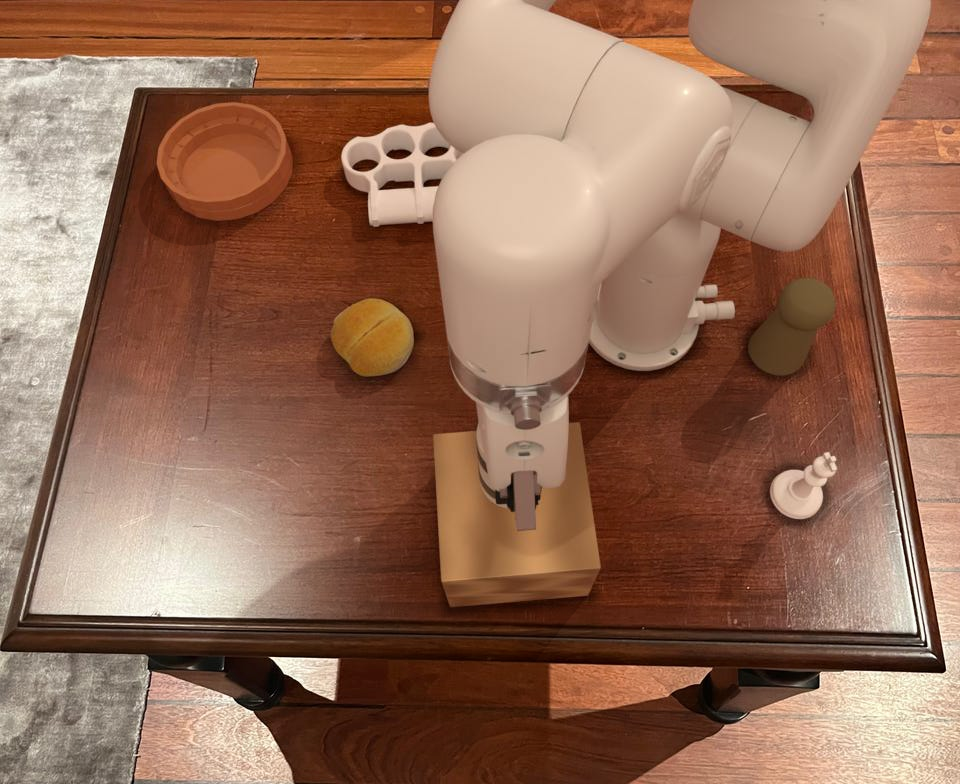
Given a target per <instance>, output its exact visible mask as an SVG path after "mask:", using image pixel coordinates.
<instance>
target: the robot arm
mask: <svg viewBox="0 0 960 784" xmlns="http://www.w3.org/2000/svg"><path fill="white" fill-rule="evenodd" d="M557 1H558V0H459V1H458V2H457V4H456V6H455V8H454V10H453V12H452V13H451V16H450V18H449V20H448V23H447V24H446V28H445V30H444V32H443V34H442V36H441V39H440V42H439V44H438V47H437V50H436V52H435V56H434V58H433V59H434V60H433V63H432V67H431V70H430V75H429V84H428V106H429V112H430V116H431V119H432V121H433V122H432V123H434V124H435V126H436V128H437V130H438V132H439V133H440V134H441V135H442V137H443V138H444V139H445V140H446V141H447V142H448V143H449V144H450V145H451V146H452V147H454V148H455V149H457V150H458V151H460V152H461V153H463V154H462V155H461V156H460V157H459V158H458V159H457V160H456V161H455V162H454V163H453V164H452V165H451V166H450V167H449V169H448V170H447V172H446V173H445V175H444V176H443V178H442V179H440V183H439V185H438V186H439V187H438V189H437V191H436V195H435V200H434V205H433V214H432V215H433V222H432V233H433V241H434V249H435V257H436V264H437V272H438V281H439V287H440V294H441V301H442V309H443V310H442V311H443V316H444V324H445V334H446V342H447V349H448V358H449V364H450V365H449V366H450V369H451V371H452V374H453V377H454V379H455V381H456V383H457V385H458V386H459V387H460V389H461V390H462V391H463V392H464V393H465V394H466V396H468V397H469V398H470V399H471V400H472V401H474V402H475V407H476V413H477V421H478V423H479V428H480V434H481V440H482V445H483V451H484V456H485V462H486V467H487V471H488V477H489V481H490V485H491V486H492V487H493V488H494V489H495V498H496V504H507V507H508V508H509V509H510V510H511V512H514V513H515V522H516V529H517V531H524V530H536V514H535V510H536V507H537V505H539V503H538V501H539V500H540V497H541V490H542V487H544V488H545V489H548V488H554V487H559V486H560V485H561V484H562V483H563V481H564V479H565V473H566V461H567V449H568V431H569V423H570V419H569V418H570V409H569V408H570V407H569V394H571V393H572V392H573V390H574V389H575V387H576V386H577V385H578V384H579V382H580V379H581V378H582V375H583V372H584V369H585V366H586V365H585V364H586V359H587V354H588V353H587V352H588V350H589V349H588V348H589V345H590V346H591V348H592V349H593V350H594V351H595V352H596V354H598V355H599V356H600V357H601V358H602V359H604V360H605V361H607V362H609V363H611V364H613V365H614V366H617V367H620V368H623V369H626V370H631V371H637V372H650V371H655V370H660V369H664V368H666V367H669V366H671V365H673V364H675V363H676V362H678V361H680V360H681V359H682V358H683V357H684V356H685V355H686V354H688V352H689V350H690V349H691V348H692V347H693V345H694V342H695V340H696V338H697V335H698V331H699V328H700V325H704V323H705V321H714V320H715V321H722V320H733V319H734V318H735V314H736V309H735V304H734V301H733V300H724V301H723V300H721V301H714V302H709V303H704V301H703V300H697V299H711V298H717V297H718V295H719V291H718V286H717V284H715V283H714V284H704V285H702V282H703V280H704V277H705V275H706V273H707V271H708V267H709V265H710V262H711V260H712V257H713V255H714V252H715V250H716V249H717V245H718V242H719V240H720V236H721V232H722V231H721V230H724V231H726V232H728V233H731V234H733V235H735V236H738V237H740V238H743V239H745V240H747V241H750V242H751V243H754V244H756V245H759V246H762V247H764V248H768V249H770V250H772V251H773V250H774V251H777V252H783V253H785V252H786V253H787V252H788V253H790V252H791V253H792V252H796V251H798V250H801V249H803V248H805V247H806V246H807V245H809V244H810V243H811V242H812V241H813V240H814V239H815V238H816V237H817V236H818V234H819V233H820V231H821V230H822V229H823V228H824V226H825V224H826V223H827V221H828V220H829V218H830V217H831V214H832V213H833V211H834V209H835V207H836V206H837V204H838V202H839V201H840V198H841V197H842V195H843V192H844V191H845V189H846V188H847V186H848V184H849V182H850V180H851V179H852V176H853V174H854V172H855V171H856V169H857V167H858V165H859V163H860V161H861V159H862V157H863V156H864V154H865V152H866V150H867V148H868V146H869V144H870V142H871V141H872V139H873V137H874V135H875V133H876V131H877V129H878V128H879V126H880V123H881V122H882V120H883V118H884V116H885V114H886V113H887V111H888V109H889V107H890V105H891V104H892V102H893V99H894V98H895V95H896V94H897V92H898V90H899V88H900V86H901V84H902V82H903V80H904V79H905V77H906V74H907V73H908V71H909V69H910V67H911V64H912V62H913V60H914V58H915V56H916V55H917V53H918V50H919V47H920V45H921V43H922V40H923V38H924V36H925V32H926V29H927V27H928V24H929V19H930V14H931V8H932V7H931V6H932V0H692V4H691V8H690V11H689V16H688V22H687V33H688V37H689V40H690V43H691V44H692V45H693V47H694V48H695V50H697V52H699V53H700V54H702V55H703V56H704V57H706V58H708V59H709V60H712V61H713V62H715V63H717V64H719V65H722V66H724V67H726V68H729V69H731V70H733V71H736V72H738V73H740V74H744V75H746V76H749V77H751V78H754V79H755V80H756V79H757V80H759V81H762V82H765V83H767V84H770V85H772V86H775V87H778V88H780V89H783V90H785V91H787V92H791V93H793V94H796V95H799V96H801V97H803V98H805V99H806V100H807V101H808V102H809V103H810V105H811V106H812V109H813V118H812V120H811V121H808V120H807V119H804V118H802V117H800V116H796V115H793V114H791V113H788V112H785V111H783V110H780V109H778V108H776V107H773V106H770V105H768V104H765V103H762V102H760V100H758V99H756V98H752V97H750V96H748V95H744V94H742V93H740V92H737V91H734V90H732V89H730V88H727V87H724V86H721V85H720V83H718V82H717V81H716V80H714V78H713V79H712V78H711V77H710V76H708V75H707V74H705V73H703V72H701V71H699V70H697V69H695V68H694V67H691V66H688V65H686V64H683V63H680V62H678V61H676V60H673V59H671V58H668V57H665V56H663V55H660V54H658V53H654V52H652V51H650V50H647V49H645V48H642V47H640V46H637V45H634V44H631V43H628V42H626V40H624V39H621V38H619V37H616V36H614V35H611V34H609V33H606V32H604V31H601V30H599V29H596V28H593V27H591V26H589V25H586V24H583V23H580V22H577V21H574V20H572V19H569V18H566V17H565V16H562V15H560V14H556V13H553V12H551V11H550V9H551V8H552V7H553V5H554V4H555V3H556V2H557Z"/></svg>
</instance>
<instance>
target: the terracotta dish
mask: <svg viewBox="0 0 960 784" xmlns="http://www.w3.org/2000/svg"><path fill="white" fill-rule="evenodd" d="M293 157H294V156H293V153H292V151H291V148H290V145H289V142H288V139H287V137H286V134H285V131H284V128H283V127H282V125H281V122H279V121H278V120H277V119H276V118H275V117H274V116H273V115H272V114H271V112H269V111H267V110H265V109H263V108H261V107H258V106H257V105H253V104H249V103H242V102H238V101H237V102H235V101H232V102H220V103H219V102H218V103H213V104H210V105H206V106H204V107H200V108H197V109H195V110H194V111H191V112H190V113H188V114H187V115H185V116H183V117H181V118H180V119H178V121H177V122H176V123H174V125H172V127H171V128H170V129H169V130H168V131H167V132H166V133H165V135H164V137H163V138H162V140H161V142H160V143H159V145H158V149H157V157H156V167H157V170H158V174H159V176H160V179H161V181H162V183H163V185H164V186H165V188H166V190H167V192H168V193H169V195H170V196H171V198H172V199H173V200H174V202H175V203H176V204H177V205H178V206H179V208H180V209H182V210H183V211H185V212H187V213H189V214H191V215H192V216H194V217H196V218H198V219H204V220H210V221H215V222H221V221H233V220H235V221H236V220H240V219H243V218H246V217H248V216H252V215H254V214H257V213H259V212H260V211H262V210H264V209H265V208H266V207H268V206H270V205H271V204H273V203H274V202H275V201H276V200H277V199H278V198H279V196H280V195H281V194H282V193H283V192H284V191H285V190H286V189H287V186H288V184H289V182H290V180H291V177H292V176H293V175H292V174H293V165H294V163H293V162H294V158H293Z"/></svg>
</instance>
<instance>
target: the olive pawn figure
mask: <svg viewBox="0 0 960 784" xmlns="http://www.w3.org/2000/svg"><path fill="white" fill-rule="evenodd" d="M836 306H837V302H836V296H835V295H834V292H833V291H832V288H830V286H828V285H827V283H825V282H823V281H822V280H820V279H816V278H812V277H802V278H797V279H794V280H792V281H791V282H789V283H788V284H786V285H785V287H784V288H783V289H782V290H781V292H780V293H779V296H778V299H777V308H776V309H774V311H773V312H772V313H771V314H770V315H768V317H767V319H765V320H764V322H762V324H761V325H760V326H759V327H758V328H757V329H756V330H755V331H754V332H753V333H752V335H751V336H750V337H749V340H748V344H747V349H748V355H749V357H750V359H751V361H752V362H753V363H754V365H755V366H756V367H757V368H759V369H760V370H761V371H763V372H765V373H768V374H769V375H773V376H788V375H792V374H794V373H796V372H797V371H799V370H800V369H801V368H802V366H803V365H804V363H805V362H806V359H807V357H808V354H809V352H810V349H811V347H812V344H813V343H814V340H815V337H816V335H817V332H818V330H819V329H820V328H822V327H824V326H826V325H827V324H828V323H829V321H830V320H831V319H832V317H833V316H834V314H835V310H836Z"/></svg>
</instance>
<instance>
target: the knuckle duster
mask: <svg viewBox="0 0 960 784" xmlns="http://www.w3.org/2000/svg"><path fill="white" fill-rule="evenodd" d="M433 148H445V149H447V152H445V153H443V154H442V155H439V156H429V155H426V152H428V151H430V150H431V149H433ZM397 150H404V151H408V152H410V153H411V154H410V155H408V156H407V157H405V158H400V159H396V158H391V157H389V156H387V155H388V153H389V152H390V151H397ZM462 154H463V153H461V152H460V151H458V150H457V149H455V148H454V147H452V146H451V145H450V144H449V143H448V142H447V141H446V140H445V139H444V138H443V137H442V135H441V134H440V133H439V132H438V130H437V128H436V126H435V124H434V122H428V123H425V124H421V125H416V126H413V125H412V126H411V125H406V124H403V123H402V124H398V125H395V126H391V127H388V128H387V127H386V129H385V130H383V131H382V132H380V133H378V134H375V135H373V136H365V137H364V136H356V137H354V138H352V139H351V140H349V141H348V142H347V143H346V144H345V146H344V147H343V149H342V151H341V155H340V159H341V164H342V168H343V172H344V176H345V179H346V181H347V183H348V184H349V186H351V187H352V188H354V189H355V190H357V191H360V192H365V193H368V195H367V199H368V200H367V208H368V223H369V225H370V226H372V227H373V228H375V227H377V228H378V227H380V226H386V225H387V226H388V225H401V224H415V223H417V224H418V225H420V224H424V223H430V222H432V223H433V215H432V214H433V205H434V200H435V195H436V191H437V189H438V187H439V185H436V186H424V185H425V182H427V181H429V180H442V178H443V176H444V175H445V173H446V172H447V170H448V169H449V167H450V166H451V165H452V164H453V163H454V162H455V161H456V160H457V159H458V158H459V157H460V156H461V155H462ZM364 160H371V161H374V162H376V163H377V166H375V167H374V168H373V169H371V170H368V171H358V170H356V169H353V167H354V166H355V165H356V164H357V163H359V162H360V161H364ZM390 181H394V183H401V182H413V184H414V187H411V188H410V187H407V188H393V189H381V188H382V187H384V186H385V185H386V183H388V182H390Z"/></svg>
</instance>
